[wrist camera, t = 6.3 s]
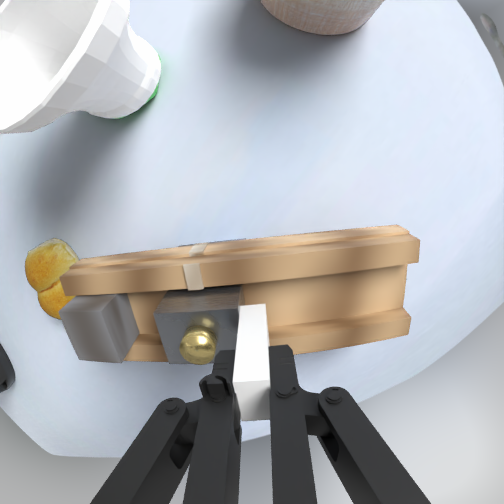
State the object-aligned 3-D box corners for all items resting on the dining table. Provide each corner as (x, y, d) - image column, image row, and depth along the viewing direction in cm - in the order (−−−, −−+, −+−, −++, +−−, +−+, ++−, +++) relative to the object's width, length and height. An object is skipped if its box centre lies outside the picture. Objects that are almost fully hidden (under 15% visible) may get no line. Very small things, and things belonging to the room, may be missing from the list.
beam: (123, 318, 28) (80, 378, 18) (102, 244, 25) (39, 286, 16) (375, 295, 26) (420, 355, 17) (377, 213, 24) (439, 246, 14)
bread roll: (59, 316, 28) (42, 333, 24) (28, 250, 26) (7, 262, 22) (105, 304, 27) (88, 323, 24) (71, 227, 25) (48, 238, 21)
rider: (182, 330, 21) (164, 375, 16) (170, 285, 19) (146, 324, 14) (248, 326, 20) (246, 374, 15) (241, 279, 19) (236, 319, 14)
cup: (141, 160, 23) (27, 170, 9) (60, 114, 21) (-49, 106, 7) (209, 52, 20) (162, -45, 6) (118, 18, 18) (38, -46, 4)
